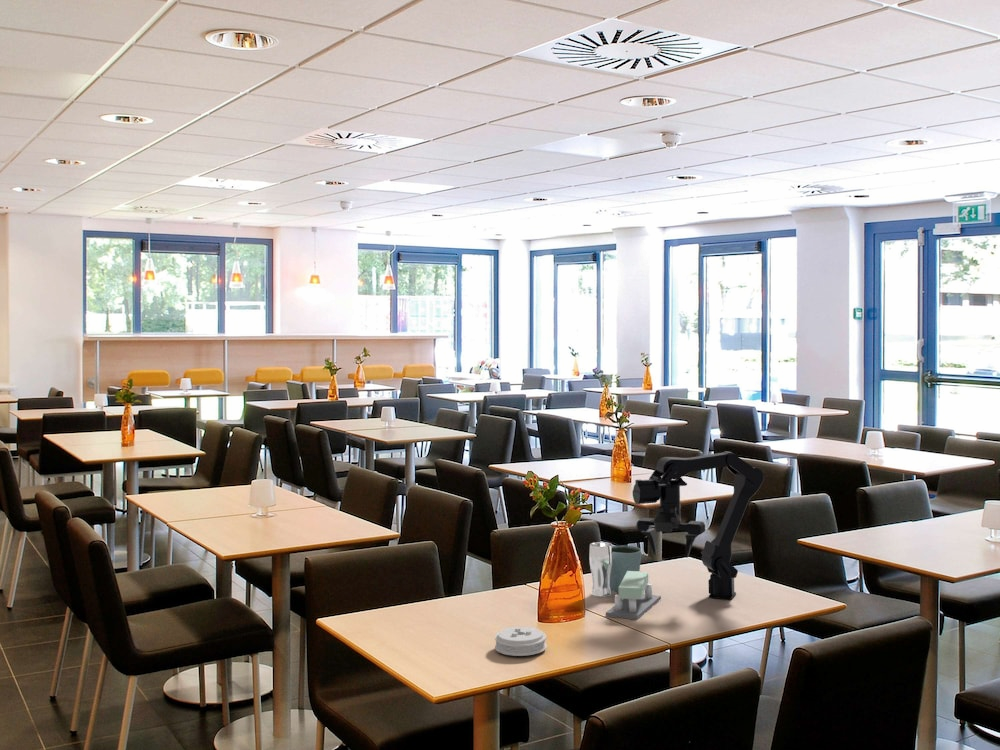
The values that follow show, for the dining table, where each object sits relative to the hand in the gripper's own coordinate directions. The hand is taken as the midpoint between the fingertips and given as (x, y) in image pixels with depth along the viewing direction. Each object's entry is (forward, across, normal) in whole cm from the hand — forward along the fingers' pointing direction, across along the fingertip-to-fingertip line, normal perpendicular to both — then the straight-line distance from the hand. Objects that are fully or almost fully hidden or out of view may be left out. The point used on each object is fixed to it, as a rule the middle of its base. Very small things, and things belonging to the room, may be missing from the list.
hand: (671, 556), depth 264 cm
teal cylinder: (+13, -17, +8) cm, 23 cm away
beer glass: (+13, -21, -1) cm, 25 cm away
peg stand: (+13, -8, -10) cm, 18 cm away
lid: (+14, -22, -54) cm, 60 cm away
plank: (+8, -8, -10) cm, 15 cm away
